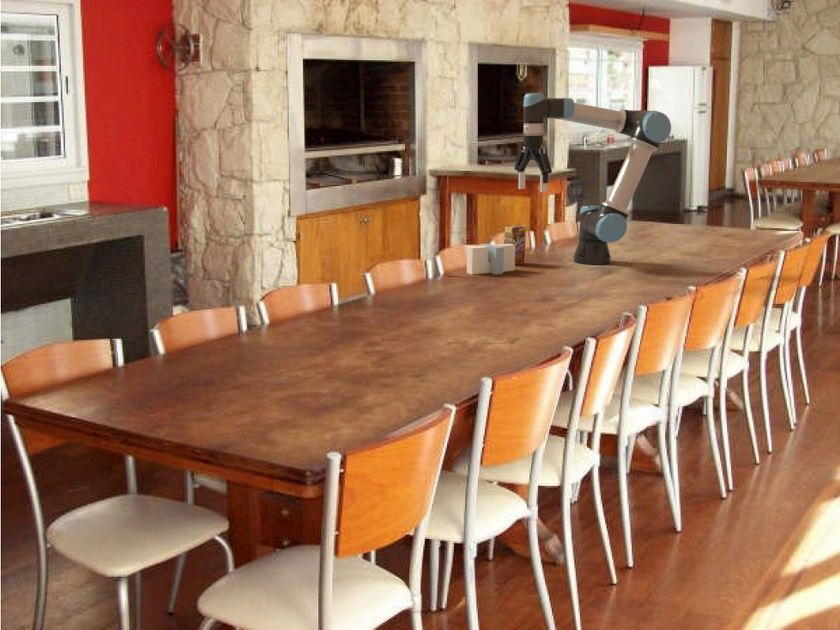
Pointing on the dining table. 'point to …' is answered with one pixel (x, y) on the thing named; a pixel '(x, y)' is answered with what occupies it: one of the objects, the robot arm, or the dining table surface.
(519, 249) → the candy box
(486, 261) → the slotted stand
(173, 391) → the dining table surface
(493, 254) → the light blue arch block
